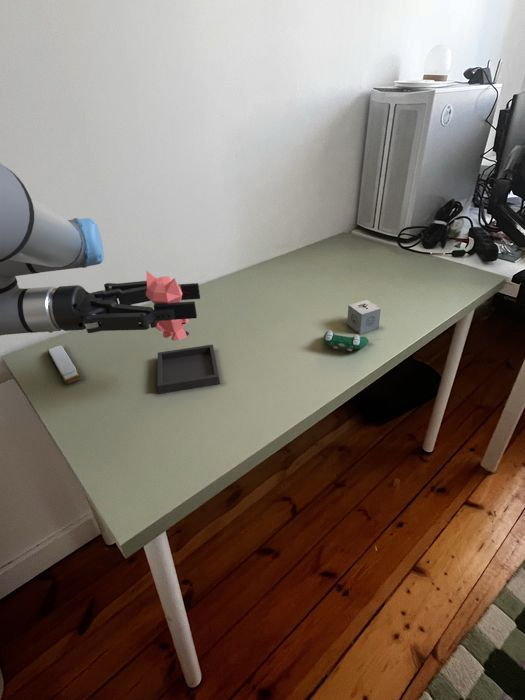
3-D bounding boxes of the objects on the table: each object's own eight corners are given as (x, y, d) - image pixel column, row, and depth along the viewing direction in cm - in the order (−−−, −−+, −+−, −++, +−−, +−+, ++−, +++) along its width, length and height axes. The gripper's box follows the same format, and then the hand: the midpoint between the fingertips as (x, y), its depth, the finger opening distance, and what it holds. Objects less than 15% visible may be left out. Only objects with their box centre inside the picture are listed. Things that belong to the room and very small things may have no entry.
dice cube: (365, 318, 101) (366, 299, 98) (378, 328, 97) (380, 308, 95) (347, 324, 100) (348, 304, 97) (360, 334, 96) (361, 314, 93)
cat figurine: (201, 330, 77) (190, 269, 70) (176, 351, 73) (163, 288, 65) (170, 320, 80) (157, 261, 73) (145, 340, 76) (128, 279, 68)
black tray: (159, 393, 82) (157, 386, 81) (159, 359, 91) (157, 352, 90) (220, 384, 83) (219, 376, 82) (213, 351, 93) (212, 344, 92)
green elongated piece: (323, 348, 95) (318, 342, 89) (327, 332, 95) (322, 325, 90) (365, 356, 92) (363, 350, 86) (369, 338, 92) (367, 332, 87)
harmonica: (48, 354, 95) (45, 346, 94) (62, 349, 97) (59, 341, 96) (65, 386, 85) (62, 378, 84) (81, 379, 87) (78, 372, 86)
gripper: (83, 302, 83) (204, 294, 83) (46, 359, 67) (195, 350, 67) (72, 265, 79) (199, 257, 79) (29, 317, 63) (188, 307, 63)
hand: (197, 300), depth 73 cm, fingers closed on cat figurine, 6 cm apart
